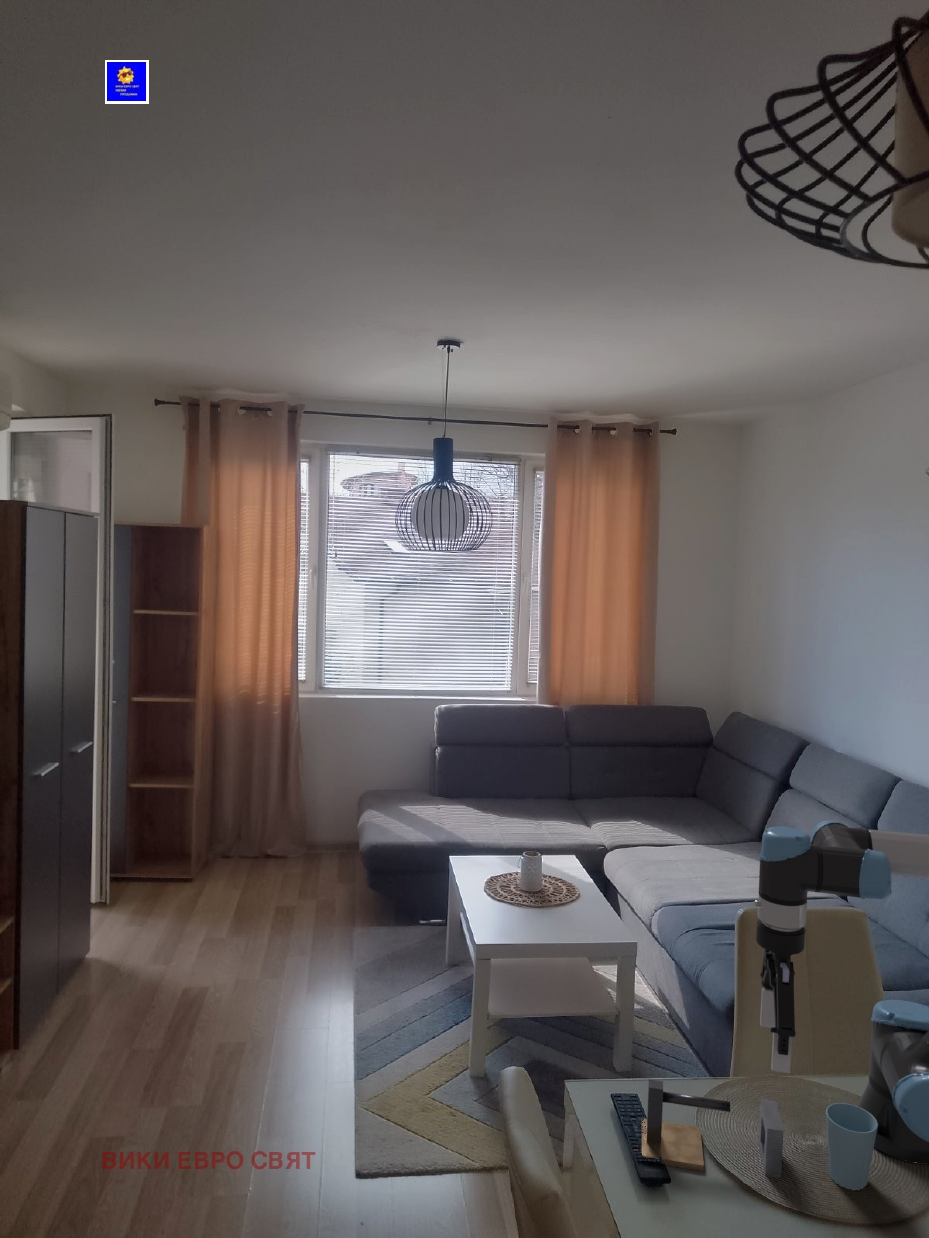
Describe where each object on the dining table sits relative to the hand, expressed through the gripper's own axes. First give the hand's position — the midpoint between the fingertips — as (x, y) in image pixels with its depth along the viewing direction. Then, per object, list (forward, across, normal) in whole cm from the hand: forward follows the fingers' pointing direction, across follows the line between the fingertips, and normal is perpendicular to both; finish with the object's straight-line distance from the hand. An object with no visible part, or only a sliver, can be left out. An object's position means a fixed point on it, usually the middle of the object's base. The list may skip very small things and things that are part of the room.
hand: (774, 1047), depth 142 cm
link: (+20, 0, 0) cm, 20 cm away
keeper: (+19, +1, -14) cm, 24 cm away
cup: (+20, +2, +12) cm, 23 cm away
